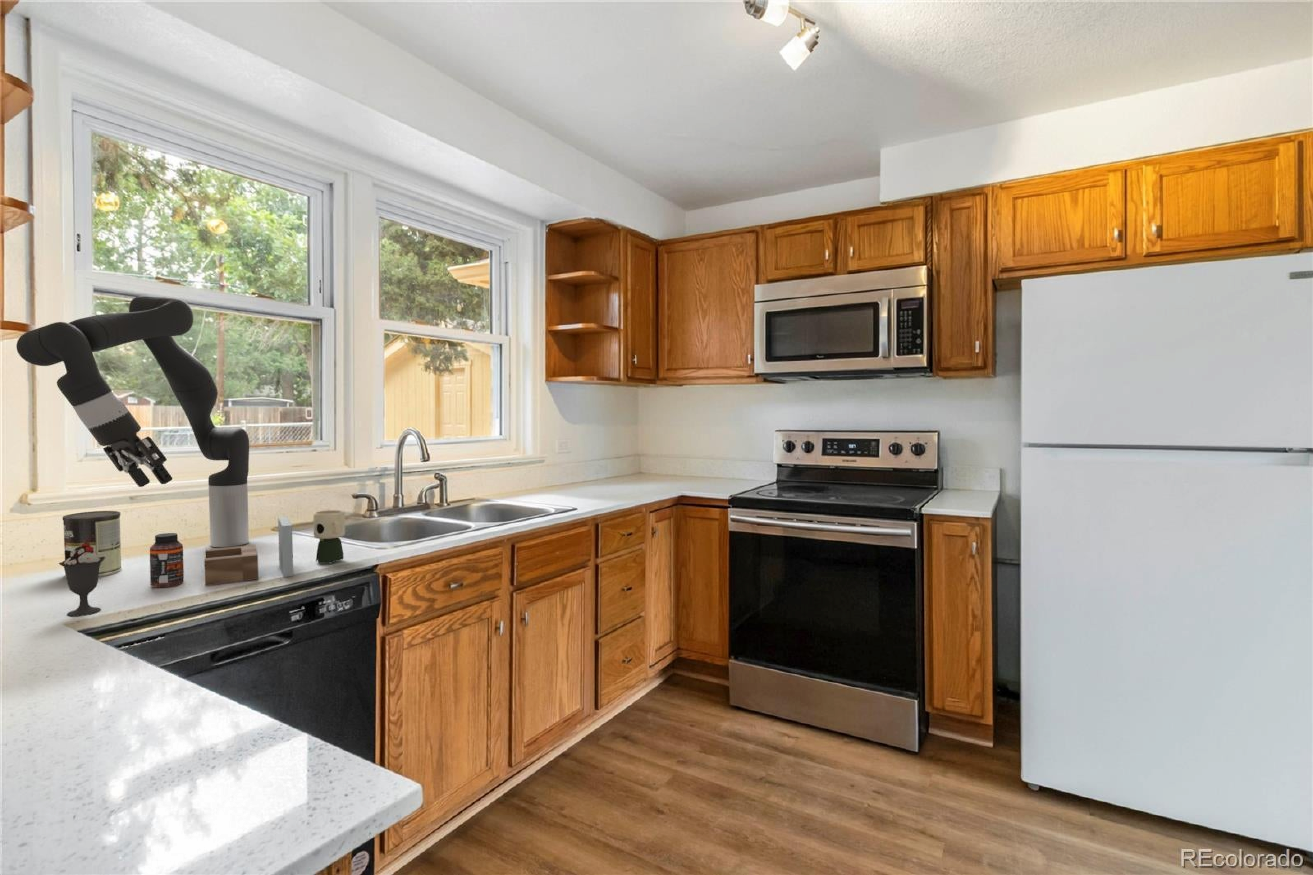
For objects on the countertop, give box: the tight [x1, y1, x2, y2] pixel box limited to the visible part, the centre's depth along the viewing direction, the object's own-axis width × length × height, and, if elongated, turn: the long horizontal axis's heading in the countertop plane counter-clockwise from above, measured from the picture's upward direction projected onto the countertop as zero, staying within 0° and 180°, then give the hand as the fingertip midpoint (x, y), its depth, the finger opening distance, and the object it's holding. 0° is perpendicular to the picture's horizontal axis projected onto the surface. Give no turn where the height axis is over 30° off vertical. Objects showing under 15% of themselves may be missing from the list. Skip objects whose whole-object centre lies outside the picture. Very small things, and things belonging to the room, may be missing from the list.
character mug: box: [313, 509, 346, 564], centre depth 165 cm, size 11×7×13 cm, turn 46°
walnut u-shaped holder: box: [203, 544, 259, 586], centre depth 151 cm, size 13×10×6 cm
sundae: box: [58, 535, 105, 617], centre depth 125 cm, size 7×7×15 cm
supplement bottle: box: [149, 532, 185, 588], centre depth 144 cm, size 6×6×11 cm
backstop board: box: [277, 516, 294, 578], centre depth 157 cm, size 13×2×12 cm, turn 34°
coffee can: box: [62, 510, 123, 578], centre depth 153 cm, size 10×10×14 cm
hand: (156, 483), depth 139 cm, fingers open, 8 cm apart
